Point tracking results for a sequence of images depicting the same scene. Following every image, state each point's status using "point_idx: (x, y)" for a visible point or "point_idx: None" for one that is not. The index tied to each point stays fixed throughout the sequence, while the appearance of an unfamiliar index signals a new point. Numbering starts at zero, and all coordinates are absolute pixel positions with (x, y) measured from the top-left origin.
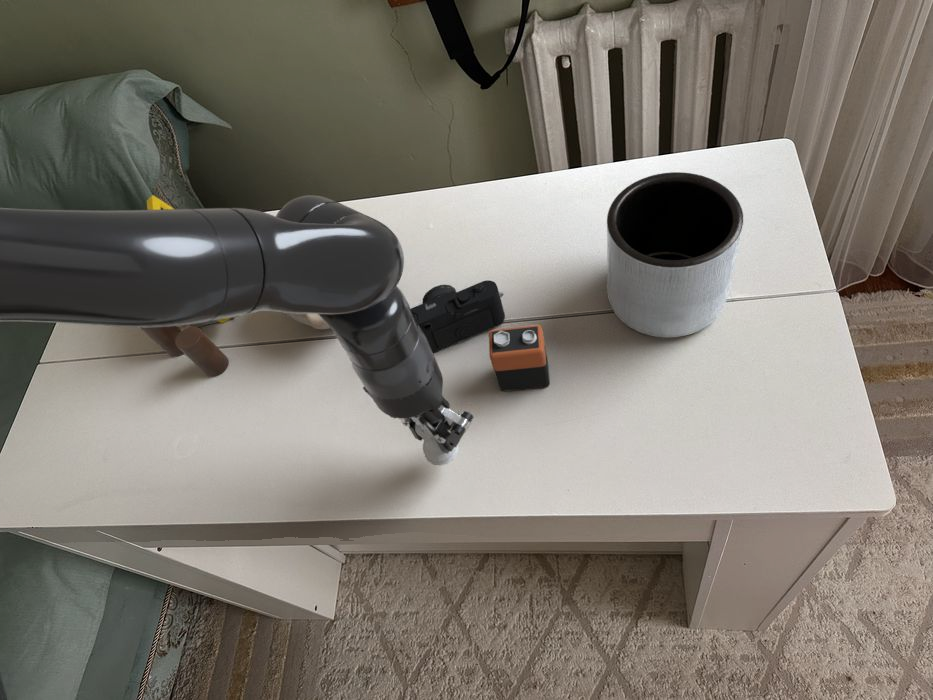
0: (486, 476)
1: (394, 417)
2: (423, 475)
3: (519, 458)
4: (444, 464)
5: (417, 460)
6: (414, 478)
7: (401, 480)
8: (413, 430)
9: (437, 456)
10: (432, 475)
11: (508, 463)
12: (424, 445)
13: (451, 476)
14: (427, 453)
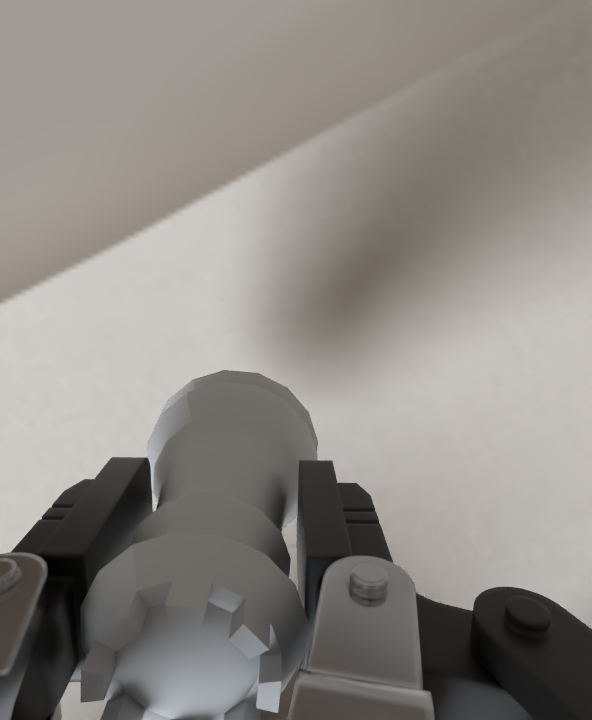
0: (87, 414)
1: (489, 606)
2: (305, 317)
3: (21, 517)
4: (178, 392)
5: (359, 359)
6: (332, 292)
7: (376, 262)
8: (311, 532)
9: (190, 417)
10: (273, 332)
11: (45, 487)
12: (279, 441)
13: (204, 360)
14: (251, 408)
